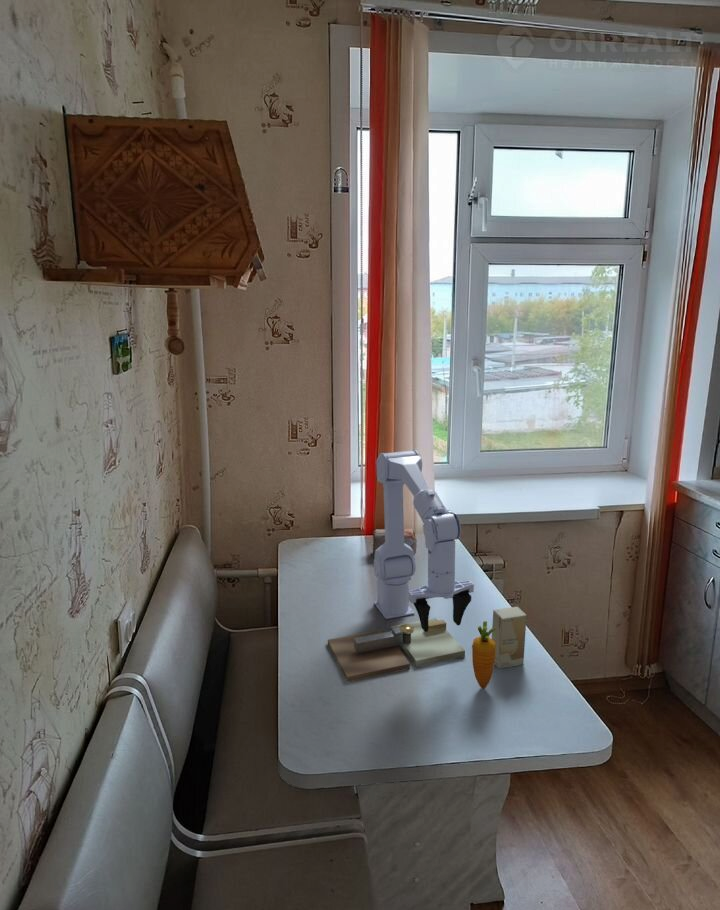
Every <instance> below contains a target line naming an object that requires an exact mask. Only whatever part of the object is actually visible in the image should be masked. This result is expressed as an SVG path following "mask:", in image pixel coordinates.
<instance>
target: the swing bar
mask: <svg viewBox="0 0 720 910" xmlns="http://www.w3.org/2000/svg"><path fill="white" fill-rule="evenodd" d="M402 624H403V625H401V626H400V628H395V629H392V631H391V630H390V631H387V632H384V633H379V634H374V635H369V636H363V637H358V638H354V648H355V650H356V652H357V653H361V652H366V651H371V650H376V649H381V648H386V647H391V646H396V645H397V646H400V645H401V644H403V635H402V634H411V633H413V631H414V627H413V626H412V625H410V624H405V623H402Z"/></svg>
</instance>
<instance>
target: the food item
mask: <svg viewBox="0 0 720 910" xmlns="http://www.w3.org/2000/svg"><path fill="white" fill-rule="evenodd" d="M372 537H373V538H372V539H373V540H372V542H373V544H372V554H373V557H374V558H375V551H376V550H377V549H378V548H379V547H380V546H381V545H383V544H384V543H385V528H384V529H383V528H382V529H378V528H377V529H375V530H373V531H372ZM404 543H405V544H407V545H408V546H410V547H411V548H412V550H413V552H414V556H415V555H416V553H417V548H418V547H417V545H418V544H417V543H418V539H417V534H416V532H415V531H414V528H404Z"/></svg>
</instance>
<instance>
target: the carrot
mask: <svg viewBox="0 0 720 910" xmlns="http://www.w3.org/2000/svg"><path fill="white" fill-rule="evenodd" d="M477 630H478V632H479V634H480V636H478V637H476V638H474V639H473V643H472V645H471V647H472V648H471V649H472V652H471V655H472V668H473V673H474V676H475V677H474V678H475V679H476V682H477V683H478V686H479V687H480V688H481V689H482V690H484V689H486V688H487V687H488V685H489V683H490V681H491V679H492V676H493V672H494V667H495V652H496V643H495V641H494V640H492V637H489V636H490V635H492V632H493V631H495V630H496V628H492V627H491V628H490V629H489V631H488V621H486V620H485V621H484V620H483V623H482V626H481V625H479V626H477Z"/></svg>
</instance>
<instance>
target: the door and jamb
mask: <svg viewBox="0 0 720 910" xmlns="http://www.w3.org/2000/svg"><path fill="white" fill-rule="evenodd" d="M403 624H410V625H412V626H413V627H414V631H413V633H411V634H402V635H403V644H401V645H396V646H391V647H386V648H381V649H376V650H371V651H366V652H361V653H357V652H356V650H355V648H354V638H358V637H363V636H369V635H374V634H379V633H384V632H388V631H387V630H386V628H383V629H377V630H372V631H367V632H362V633H356V634H350V635H347V636H341V637H335V638H329V639H327V645H328V648H329V650H330V651H331V653H332V655H333V657H334V659H335V661H336V663H337V664H338V667H339V669H340V670H341V672H342V675H343V676H344V678H345V680H346V682H352V681H357V680H362V679H367V678H372V677H376V676H381V675H386V674H389V673H391V674H392V673H395V672H400V671H405V670H409V669H410V668H411V663H410V661H411V662H412V663H413V665H414V667H416V668H419V667H423V666H428V665H432V664H433V665H434V664H437V663H442V662H448V661H451V660H452V661H453V660H457V659H460V658H465V657H466V650H465V649H464V647H463V646H462V645H461V644H460V643H459V642H458V641H457V640H456V639H455V637H454V636H453V635H452V634H450V632H449V631H448V630H447V621H445V620H444V619H440V620H438V619H437V618H436V617H432V618H428V625H429V628H428V631H427V632H425V631H424V630H423V629H422V628H421V622H420V620H416V621H410V622H406V623H401V624H397V625H391V626H390V631H392V629H395V628H400V626H401V625H403ZM399 646H400V647H401V649H402V650H403V651H404V652H405V653H406V656H408V658H409V660H410V661H409V660H408V658H407V657H406V656H405V655H404V653H403V652H402V650H401V649H400V647H399Z"/></svg>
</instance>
